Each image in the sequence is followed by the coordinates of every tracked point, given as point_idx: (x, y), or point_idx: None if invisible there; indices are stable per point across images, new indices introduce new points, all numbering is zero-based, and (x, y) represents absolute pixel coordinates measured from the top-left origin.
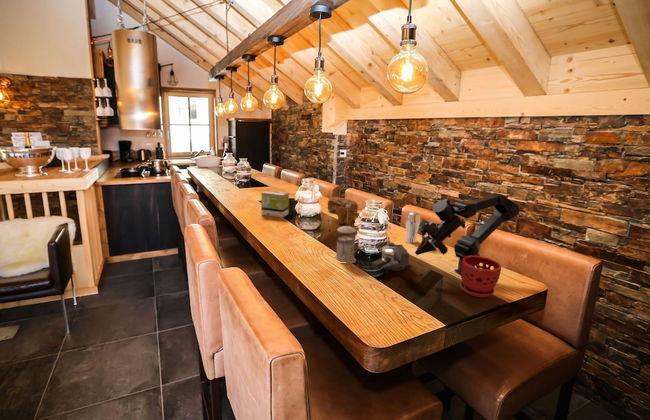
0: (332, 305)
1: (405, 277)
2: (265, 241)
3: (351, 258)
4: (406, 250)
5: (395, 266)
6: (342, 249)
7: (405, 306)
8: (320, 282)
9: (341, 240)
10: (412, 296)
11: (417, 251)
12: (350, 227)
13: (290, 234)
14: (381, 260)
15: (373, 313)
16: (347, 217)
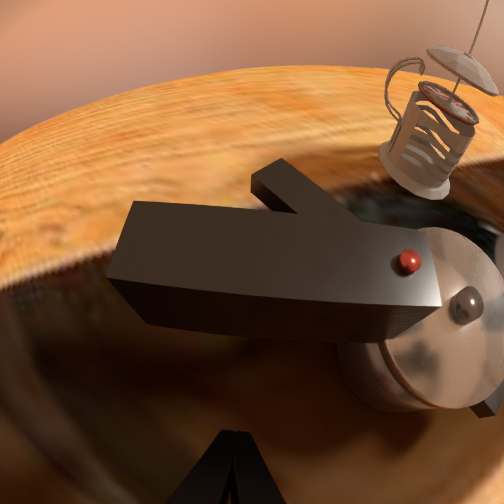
0: (100, 104)
1: (233, 372)
2: (443, 81)
3: (405, 165)
4: (461, 404)
5: None
6: (405, 110)
7: (7, 251)
8: (223, 88)
9: (397, 63)
10: (39, 307)
11: (206, 451)
12: (471, 62)
13: (501, 125)
14: (322, 211)
15: (29, 166)
16: (481, 22)
